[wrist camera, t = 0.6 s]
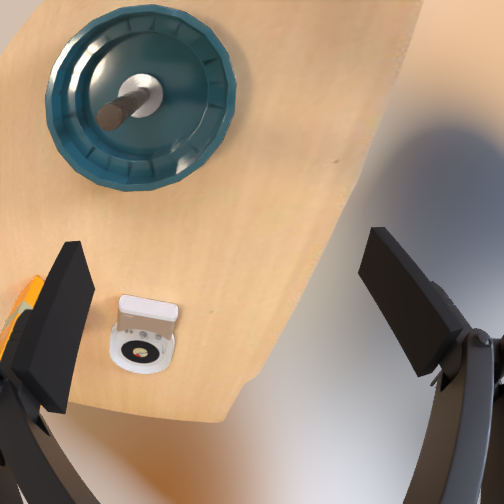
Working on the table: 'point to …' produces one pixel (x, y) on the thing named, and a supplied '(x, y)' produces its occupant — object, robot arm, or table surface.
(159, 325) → the record player
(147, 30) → the bowl
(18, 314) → the orange juice
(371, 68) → the table surface
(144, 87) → the brown rod
